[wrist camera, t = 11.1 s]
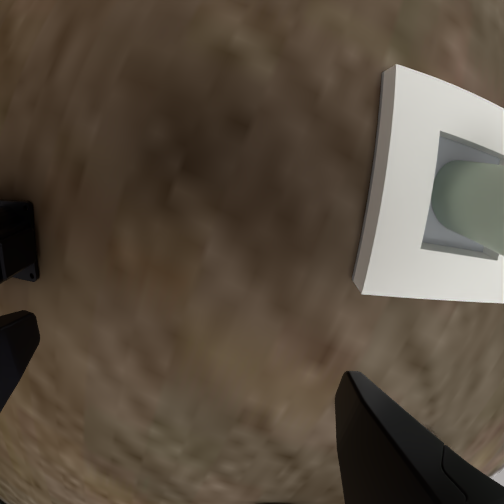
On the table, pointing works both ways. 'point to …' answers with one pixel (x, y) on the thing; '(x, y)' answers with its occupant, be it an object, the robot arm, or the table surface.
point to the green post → (471, 201)
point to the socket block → (426, 192)
